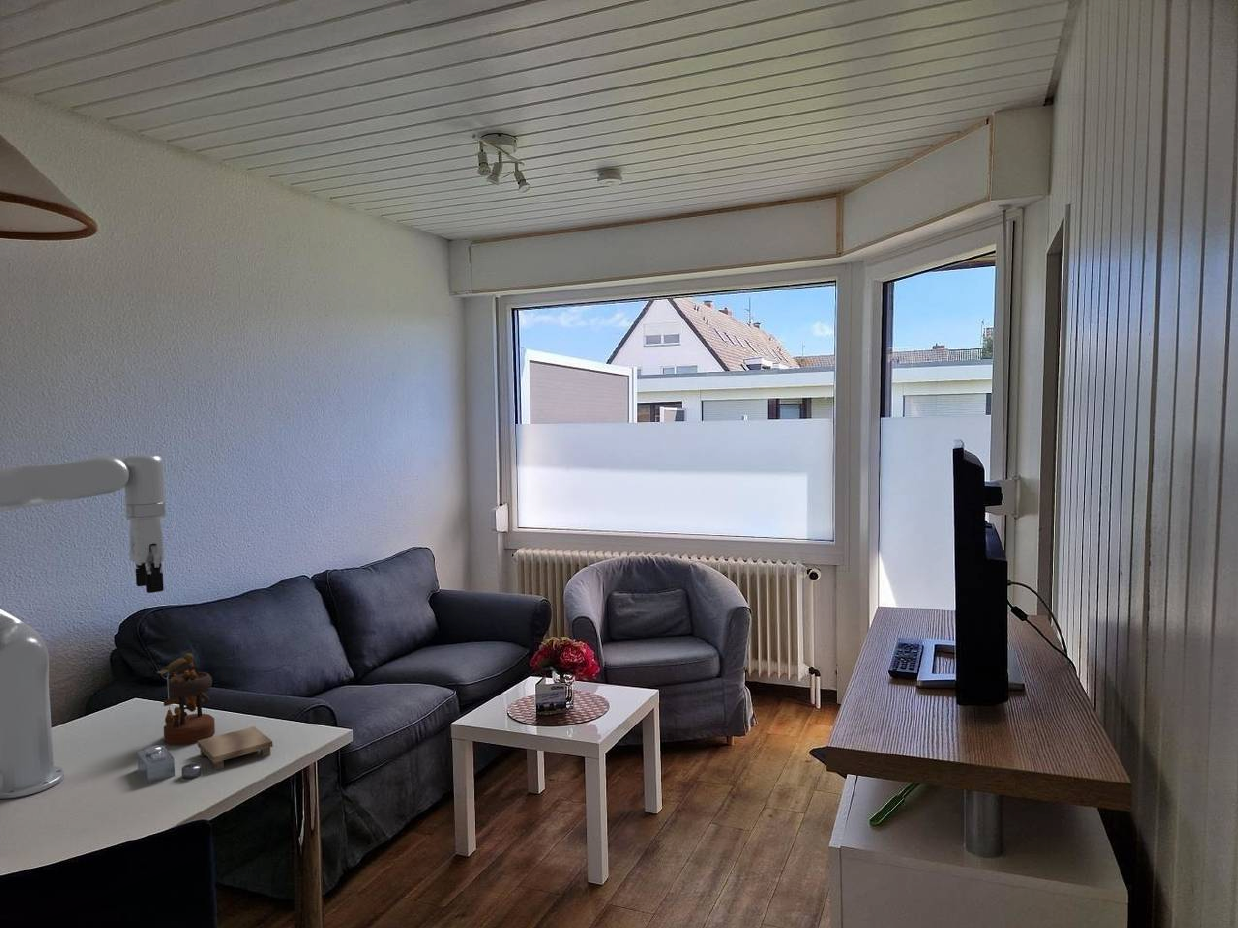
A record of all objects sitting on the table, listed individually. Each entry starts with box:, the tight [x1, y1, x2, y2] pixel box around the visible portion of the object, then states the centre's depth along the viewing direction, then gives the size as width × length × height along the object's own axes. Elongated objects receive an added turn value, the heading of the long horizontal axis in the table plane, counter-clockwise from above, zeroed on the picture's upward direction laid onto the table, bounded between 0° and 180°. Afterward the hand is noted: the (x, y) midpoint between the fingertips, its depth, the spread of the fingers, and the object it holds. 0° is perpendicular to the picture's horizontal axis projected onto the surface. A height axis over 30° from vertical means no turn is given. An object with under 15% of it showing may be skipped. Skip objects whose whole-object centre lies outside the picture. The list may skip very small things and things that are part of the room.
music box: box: [156, 653, 216, 746], centre depth 188 cm, size 15×11×20 cm
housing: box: [136, 744, 176, 784], centre depth 169 cm, size 5×9×5 cm, turn 42°
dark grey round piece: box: [180, 762, 202, 781], centre depth 167 cm, size 4×4×2 cm
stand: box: [197, 726, 273, 771], centre depth 177 cm, size 12×12×3 cm
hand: (149, 588), depth 178 cm, fingers open, 9 cm apart
